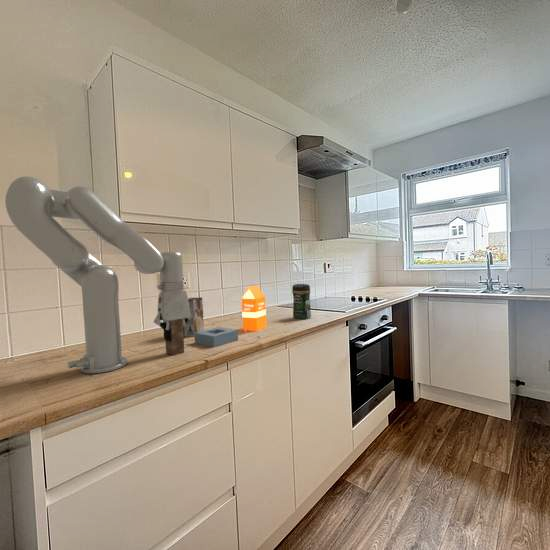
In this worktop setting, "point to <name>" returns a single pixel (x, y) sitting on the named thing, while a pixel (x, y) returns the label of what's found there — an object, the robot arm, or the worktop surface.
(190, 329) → the coffee box
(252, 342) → the worktop surface
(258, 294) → the orange juice
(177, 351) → the peg
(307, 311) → the coffee jar
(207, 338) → the socket block
